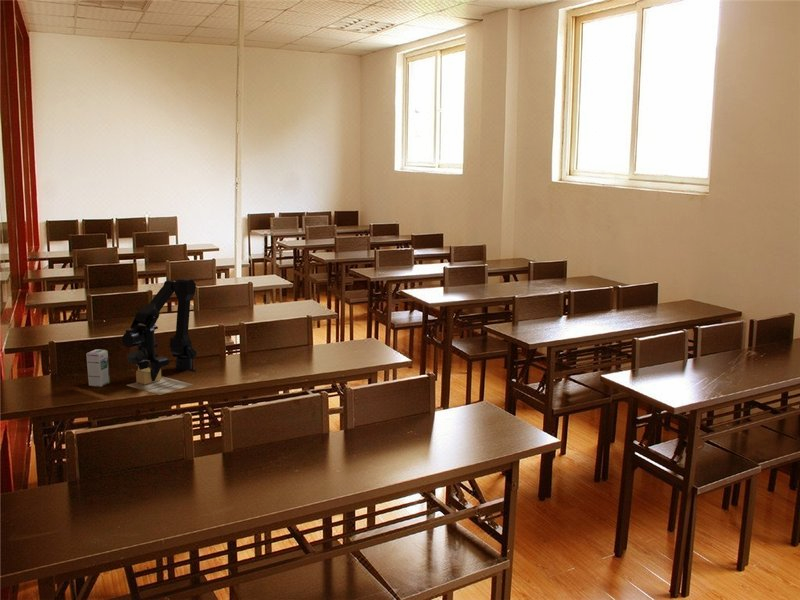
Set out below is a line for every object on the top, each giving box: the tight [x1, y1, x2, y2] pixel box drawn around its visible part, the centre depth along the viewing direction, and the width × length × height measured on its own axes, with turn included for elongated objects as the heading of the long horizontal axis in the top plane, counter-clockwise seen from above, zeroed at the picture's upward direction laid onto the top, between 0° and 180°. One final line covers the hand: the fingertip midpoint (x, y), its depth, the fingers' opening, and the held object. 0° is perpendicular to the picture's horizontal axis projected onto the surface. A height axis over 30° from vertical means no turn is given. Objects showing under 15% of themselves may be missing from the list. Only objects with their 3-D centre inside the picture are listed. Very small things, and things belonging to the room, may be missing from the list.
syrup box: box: [85, 349, 111, 387], centre depth 280 cm, size 6×6×14 cm
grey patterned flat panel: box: [126, 375, 194, 396], centre depth 282 cm, size 16×20×1 cm
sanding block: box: [135, 368, 162, 385], centre depth 285 cm, size 8×5×5 cm, turn 147°
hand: (149, 379), depth 285 cm, fingers closed on sanding block, 5 cm apart
